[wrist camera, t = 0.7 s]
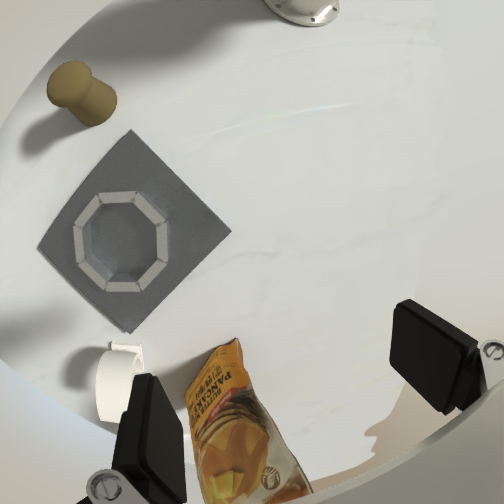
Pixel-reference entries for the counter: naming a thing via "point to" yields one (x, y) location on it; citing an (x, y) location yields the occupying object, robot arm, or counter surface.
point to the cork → (81, 93)
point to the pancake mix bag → (238, 438)
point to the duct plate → (131, 233)
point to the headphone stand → (117, 379)
